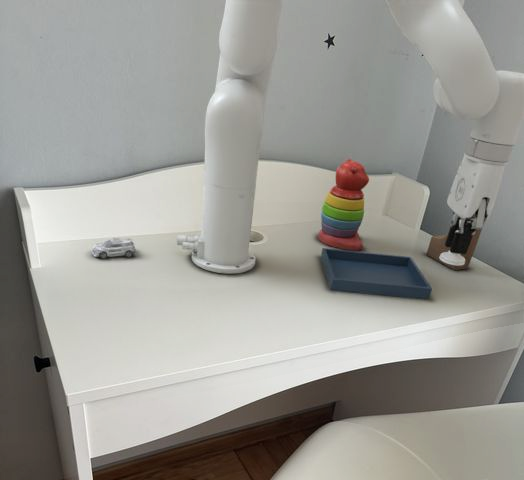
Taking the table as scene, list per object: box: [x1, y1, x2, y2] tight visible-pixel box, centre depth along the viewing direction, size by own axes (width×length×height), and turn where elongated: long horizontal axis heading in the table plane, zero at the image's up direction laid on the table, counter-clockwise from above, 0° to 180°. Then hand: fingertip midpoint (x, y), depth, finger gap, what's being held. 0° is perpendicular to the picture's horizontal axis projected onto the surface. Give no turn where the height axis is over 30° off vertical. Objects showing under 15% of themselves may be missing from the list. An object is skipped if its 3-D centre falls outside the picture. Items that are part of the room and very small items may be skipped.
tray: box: [320, 247, 433, 300], centre depth 104 cm, size 19×15×2 cm
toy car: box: [91, 237, 136, 260], centre depth 98 cm, size 4×8×3 cm, turn 114°
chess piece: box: [439, 219, 470, 266], centre depth 99 cm, size 5×5×10 cm
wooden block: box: [426, 215, 486, 271], centre depth 112 cm, size 9×4×18 cm, turn 29°
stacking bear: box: [317, 158, 370, 252], centre depth 115 cm, size 11×10×18 cm
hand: (455, 249), depth 100 cm, fingers closed on chess piece
